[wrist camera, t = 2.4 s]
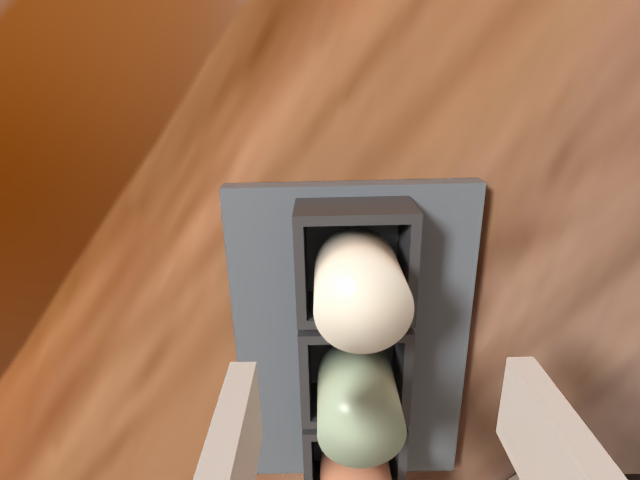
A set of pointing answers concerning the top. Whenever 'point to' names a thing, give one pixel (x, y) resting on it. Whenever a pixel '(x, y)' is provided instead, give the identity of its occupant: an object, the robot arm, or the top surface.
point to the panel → (298, 297)
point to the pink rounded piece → (352, 471)
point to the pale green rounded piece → (358, 409)
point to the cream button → (360, 293)
